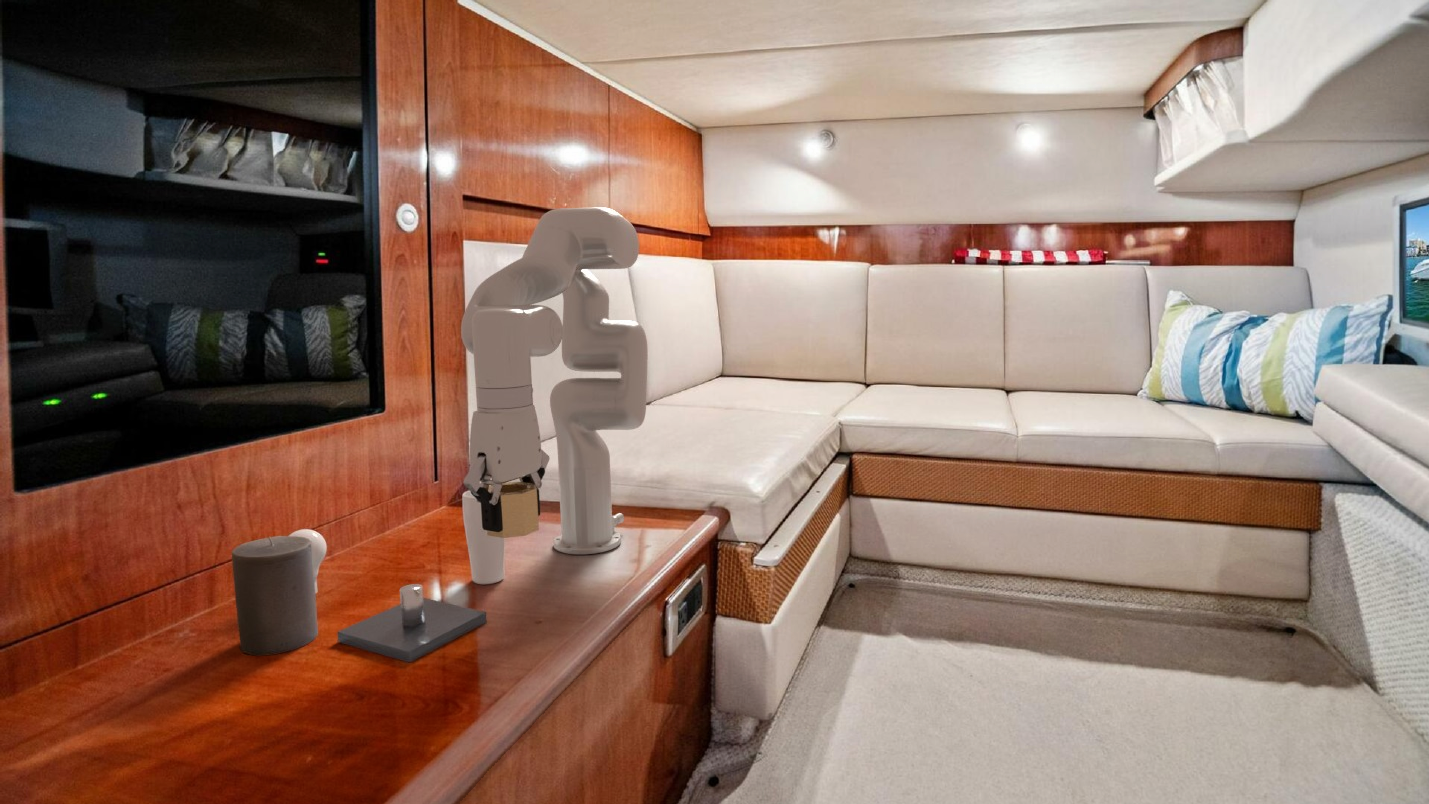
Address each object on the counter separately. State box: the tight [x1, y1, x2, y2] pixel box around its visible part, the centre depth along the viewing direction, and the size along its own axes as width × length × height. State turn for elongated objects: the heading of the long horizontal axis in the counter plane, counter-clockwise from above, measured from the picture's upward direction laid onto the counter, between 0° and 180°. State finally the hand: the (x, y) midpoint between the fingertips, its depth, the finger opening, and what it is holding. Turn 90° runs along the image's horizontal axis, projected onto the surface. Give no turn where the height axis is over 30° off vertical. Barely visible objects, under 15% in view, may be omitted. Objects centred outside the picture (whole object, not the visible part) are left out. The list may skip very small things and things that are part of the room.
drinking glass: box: [461, 490, 506, 585], centre depth 131 cm, size 7×7×15 cm
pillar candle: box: [231, 535, 319, 656], centre depth 109 cm, size 10×10×15 cm
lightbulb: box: [288, 528, 328, 595], centre depth 125 cm, size 6×6×11 cm
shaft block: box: [337, 583, 488, 663], centre depth 112 cm, size 14×14×6 cm
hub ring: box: [487, 481, 540, 539], centre depth 111 cm, size 7×7×6 cm
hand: (512, 521), depth 112 cm, fingers closed on hub ring, 7 cm apart
